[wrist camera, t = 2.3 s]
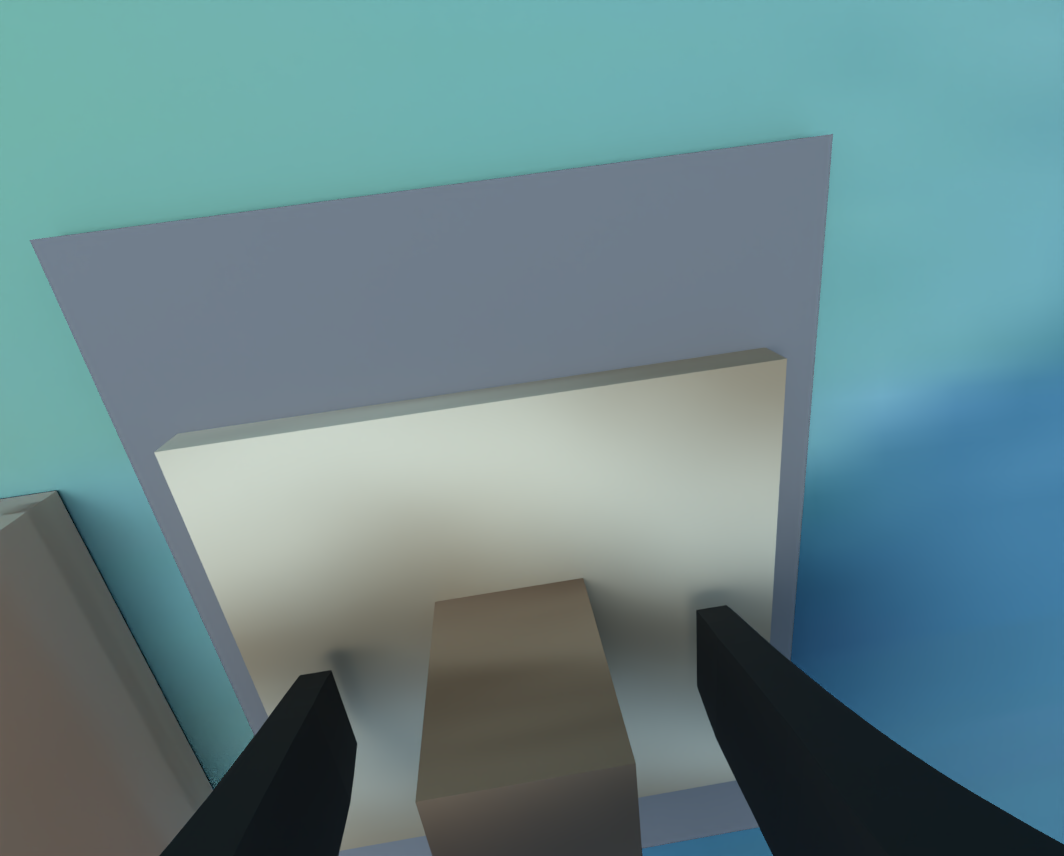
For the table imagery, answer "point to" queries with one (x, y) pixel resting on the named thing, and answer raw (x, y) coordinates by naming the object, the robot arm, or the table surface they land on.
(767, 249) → the mat
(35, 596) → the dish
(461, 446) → the lid
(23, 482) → the table surface
